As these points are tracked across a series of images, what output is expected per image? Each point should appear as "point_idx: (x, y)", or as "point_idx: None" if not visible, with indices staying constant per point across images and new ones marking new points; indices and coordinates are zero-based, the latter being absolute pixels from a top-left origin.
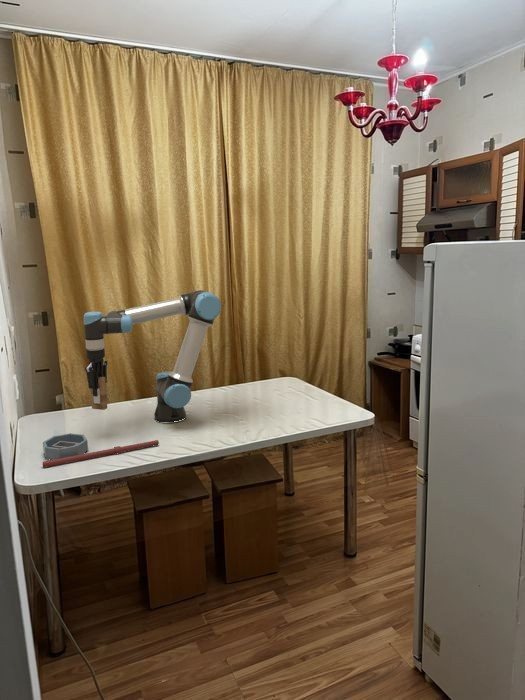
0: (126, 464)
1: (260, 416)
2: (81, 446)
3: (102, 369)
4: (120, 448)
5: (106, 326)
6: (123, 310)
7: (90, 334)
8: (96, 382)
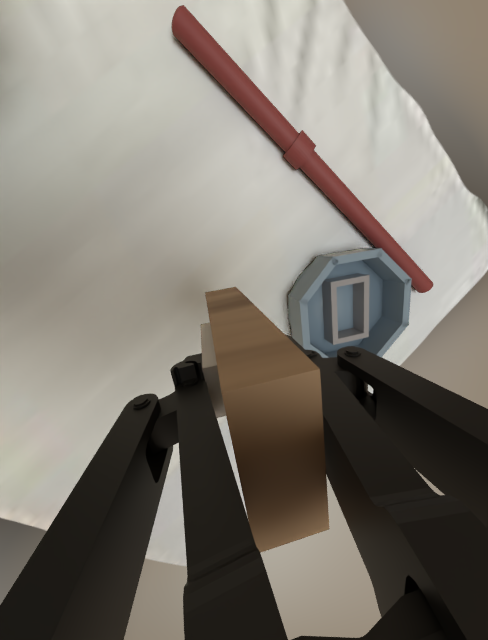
0: (358, 58)
1: None
2: (356, 251)
3: (239, 624)
4: (303, 131)
5: None
6: None
7: None
8: (339, 384)
